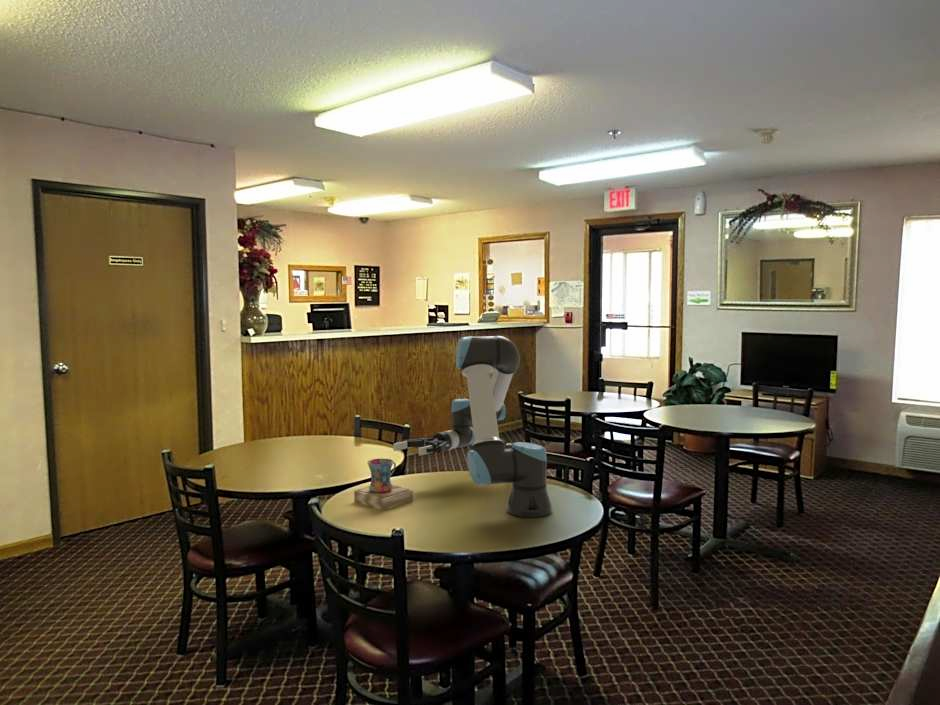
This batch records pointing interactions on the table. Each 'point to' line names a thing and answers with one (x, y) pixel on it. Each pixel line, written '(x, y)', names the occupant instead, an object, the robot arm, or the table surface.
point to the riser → (383, 497)
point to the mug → (381, 474)
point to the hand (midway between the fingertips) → (406, 449)
